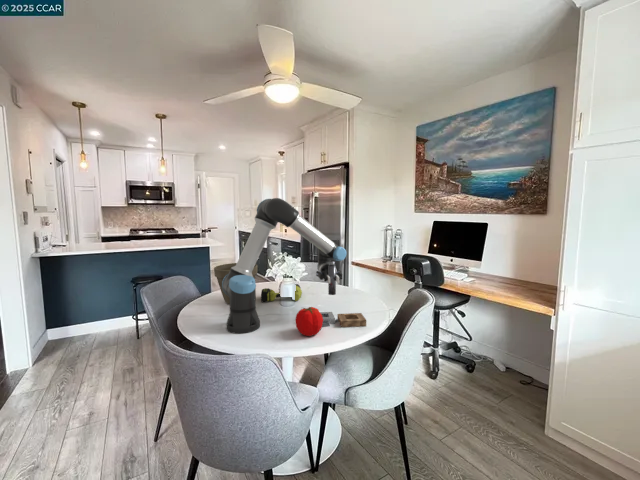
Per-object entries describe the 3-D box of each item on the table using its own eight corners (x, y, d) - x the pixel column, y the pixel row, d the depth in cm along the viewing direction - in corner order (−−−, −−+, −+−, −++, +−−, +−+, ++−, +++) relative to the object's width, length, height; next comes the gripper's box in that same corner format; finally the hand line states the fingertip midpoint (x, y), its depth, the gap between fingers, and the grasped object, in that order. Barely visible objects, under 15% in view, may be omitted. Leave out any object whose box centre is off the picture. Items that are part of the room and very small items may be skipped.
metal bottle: (329, 295, 143) (329, 262, 142) (327, 293, 147) (327, 261, 145) (336, 294, 144) (336, 262, 142) (335, 292, 147) (335, 261, 146)
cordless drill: (264, 291, 201) (301, 291, 202) (259, 303, 176) (301, 303, 178) (264, 281, 200) (301, 281, 202) (259, 292, 175) (301, 291, 177)
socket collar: (314, 324, 141) (314, 319, 141) (312, 317, 151) (312, 312, 151) (335, 323, 142) (335, 318, 142) (332, 316, 152) (332, 311, 152)
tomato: (290, 337, 126) (290, 311, 125) (301, 326, 139) (301, 302, 138) (318, 340, 123) (318, 313, 122) (326, 329, 136) (326, 304, 135)
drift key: (313, 328, 136) (313, 326, 136) (312, 327, 138) (312, 325, 138) (329, 326, 139) (329, 324, 139) (328, 324, 141) (328, 323, 141)
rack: (340, 327, 138) (341, 321, 137) (337, 319, 148) (337, 313, 147) (366, 326, 139) (366, 320, 139) (361, 318, 149) (361, 313, 149)
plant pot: (212, 309, 164) (211, 270, 162) (217, 297, 187) (216, 263, 186) (258, 306, 169) (258, 268, 168) (257, 294, 193) (257, 261, 191)
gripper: (341, 277, 164) (351, 287, 141) (311, 278, 162) (316, 288, 139) (341, 263, 163) (351, 272, 140) (311, 264, 161) (316, 272, 138)
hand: (334, 280), depth 139 cm, fingers closed on metal bottle, 4 cm apart
